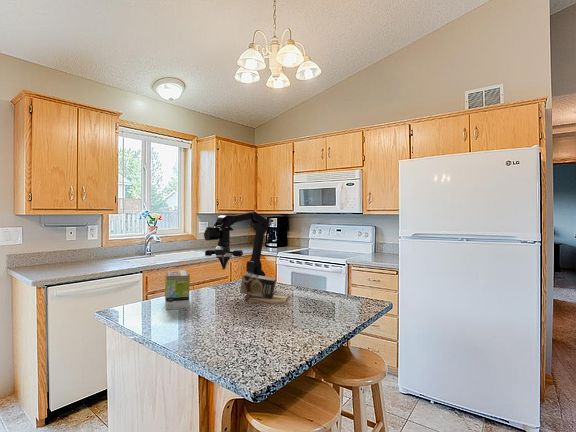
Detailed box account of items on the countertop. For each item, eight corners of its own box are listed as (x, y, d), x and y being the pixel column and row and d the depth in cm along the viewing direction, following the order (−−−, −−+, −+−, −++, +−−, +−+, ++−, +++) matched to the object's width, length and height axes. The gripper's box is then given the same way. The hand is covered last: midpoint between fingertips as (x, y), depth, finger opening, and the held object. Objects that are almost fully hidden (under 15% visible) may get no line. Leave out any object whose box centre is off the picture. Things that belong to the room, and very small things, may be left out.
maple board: (253, 295, 171) (253, 293, 171) (288, 296, 168) (288, 295, 168) (247, 301, 158) (247, 300, 158) (284, 303, 155) (284, 301, 155)
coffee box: (242, 275, 161) (274, 281, 159) (245, 272, 168) (276, 278, 165) (239, 293, 162) (271, 299, 160) (243, 290, 168) (274, 295, 166)
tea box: (189, 308, 146) (190, 274, 146) (165, 310, 142) (165, 276, 142) (186, 299, 160) (187, 269, 160) (164, 301, 156) (165, 270, 156)
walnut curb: (251, 294, 172) (251, 289, 172) (254, 294, 172) (254, 289, 172) (244, 301, 158) (244, 296, 158) (247, 301, 158) (247, 296, 158)
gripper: (201, 240, 164) (201, 271, 165) (237, 241, 163) (237, 272, 163) (208, 238, 175) (208, 268, 176) (243, 239, 174) (243, 268, 174)
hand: (224, 269), depth 172 cm, fingers closed
